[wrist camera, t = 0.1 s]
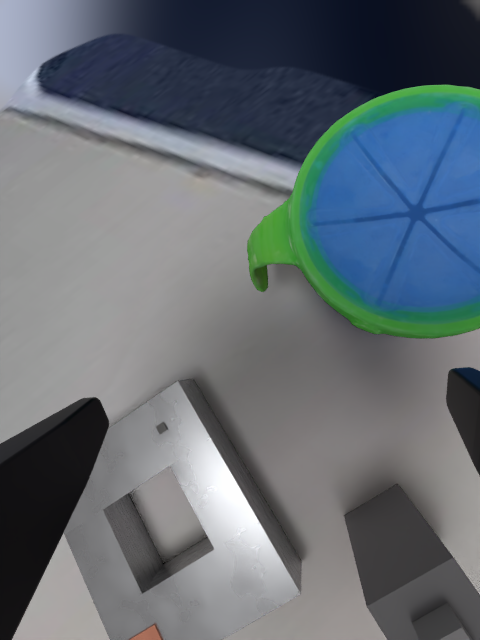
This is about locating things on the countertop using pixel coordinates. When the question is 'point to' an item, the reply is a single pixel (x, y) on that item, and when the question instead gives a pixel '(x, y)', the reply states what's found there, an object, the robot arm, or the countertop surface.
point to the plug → (410, 573)
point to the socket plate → (201, 559)
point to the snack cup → (388, 215)
